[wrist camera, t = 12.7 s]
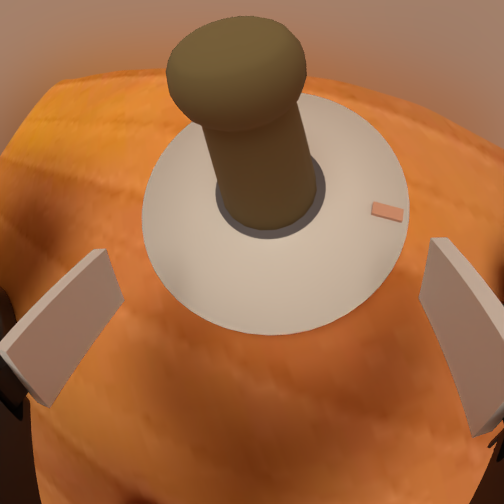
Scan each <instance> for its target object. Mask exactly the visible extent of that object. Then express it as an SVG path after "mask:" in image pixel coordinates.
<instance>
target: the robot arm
mask: <svg viewBox="0 0 504 504" xmlns="http://www.w3.org/2000/svg"><path fill="white" fill-rule="evenodd" d="M419 300H420V302H421V304H422V307H423V309H424V311H425V313H426V315H427V317H428V319H429V321H430V324H431V326H432V328H433V330H434V332H435V335H436V337H437V339H438V342H439V344H440V346H441V349H442V351H443V353H444V356H445V358H446V361H447V363H448V366H449V369H450V371H451V374H452V376H453V379H454V382H455V385H456V387H457V390H458V393H459V396H460V399H461V402H462V405H463V408H464V411H465V414H466V418H467V421H468V424H469V428H470V431H471V435H472V438H474V437H477V436H480V435H482V434H485V433H488V432H491V431H493V429H494V428H495V427H496V426H497V425H498V424H499V423H500V422H501V421H502V420H503V423H504V304H502V303H501V302H500V301H499V299H498V298H497V297H496V295H495V294H494V293H493V291H492V290H491V289H490V287H489V286H488V285H487V284H486V282H485V281H484V280H483V278H482V277H481V276H480V275H479V273H478V272H477V271H476V270H475V269H474V267H473V266H472V265H471V264H470V263H469V261H468V260H467V259H466V258H465V257H464V256H463V255H462V253H461V252H460V251H459V250H458V249H457V248H456V247H455V246H454V244H453V243H452V242H451V241H450V240H449V239H448V238H431V239H430V245H429V251H428V256H427V262H426V267H425V272H424V277H423V281H422V286H421V290H420V294H419ZM124 301H125V300H124V298H123V295H122V292H121V290H120V287H119V285H118V282H117V279H116V276H115V274H114V271H113V268H112V265H111V262H110V259H109V256H108V253H107V250H106V249H93V250H92V251H91V252H90V253H89V254H88V255H87V256H85V257H84V258H83V259H82V260H81V261H80V262H79V263H78V264H76V265H75V266H74V267H73V268H72V269H71V270H70V271H69V272H68V273H67V274H65V275H64V276H63V277H62V278H61V279H60V280H59V281H58V282H57V283H56V284H55V285H54V286H53V287H52V288H51V289H50V290H49V291H48V292H47V293H46V294H45V295H44V296H43V297H42V298H41V299H40V300H39V301H38V302H37V303H36V304H35V305H34V306H33V307H32V308H31V309H30V310H29V311H28V312H27V313H26V314H25V315H24V316H23V317H22V318H21V319H20V320H19V321H18V322H17V324H16V321H15V316H14V312H13V309H12V305H11V303H10V300H9V298H8V296H7V294H6V293H5V291H4V290H3V289H2V288H1V287H0V504H41V500H40V495H39V490H38V484H37V478H36V472H35V465H34V457H33V447H32V435H31V417H30V401H29V399H28V398H27V397H26V395H27V393H28V392H29V393H30V394H31V395H32V397H33V398H34V399H35V400H36V401H37V402H38V403H40V404H42V405H44V406H46V407H48V408H50V407H51V406H52V404H53V402H54V401H55V399H56V398H57V396H58V395H59V393H60V391H61V390H62V388H63V387H64V385H65V384H66V382H67V381H68V379H69V378H70V376H71V375H72V373H73V372H74V370H75V369H76V367H77V366H78V364H79V363H80V361H81V360H82V358H83V357H84V355H85V354H86V353H87V351H88V350H89V348H90V347H91V345H92V344H93V343H94V341H95V340H96V338H97V337H98V336H99V334H100V333H101V331H102V330H103V329H104V327H105V326H106V325H107V323H108V322H109V321H110V319H111V318H112V317H113V315H114V314H115V312H116V311H117V310H118V308H119V307H120V306H121V305H122V303H123V302H124ZM496 442H497V444H496V446H495V448H494V449H493V450H494V452H493V454H492V457H491V459H490V461H489V464H488V466H487V469H486V471H485V473H484V475H483V477H482V480H481V482H480V484H479V486H478V488H477V490H476V492H475V494H474V496H473V498H472V499H471V501H470V503H469V504H504V429H503V430H502V431H501V432H500V433H499V434H498V435H497V436H496V437H495V438H494V439H493V440H492V441H491V442H490V443H489V445H488V448H491V447H492V446H493V445H494V444H495V443H496Z"/></svg>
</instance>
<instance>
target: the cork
mask: <svg viewBox="0 0 504 504" xmlns="http://www.w3.org/2000/svg"><path fill="white" fill-rule="evenodd" d="M166 76H167V83H168V88H169V93H170V96H171V97H172V99H173V101H174V102H175V104H176V105H177V106H178V108H179V109H180V110H181V111H182V112H183V113H184V114H185V115H186V116H187V117H188V118H189V119H190V120H191V121H193V122H194V123H196V124H199V125H201V126H202V130H203V133H204V137H205V140H206V144H207V147H208V151H209V154H210V158H211V161H212V165H213V168H214V171H215V175H216V178H217V182H218V185H219V189H220V192H221V195H222V199H223V202H224V206H225V208H226V209H227V211H228V212H229V214H230V215H231V216H232V218H233V219H235V220H236V221H238V222H239V223H241V224H242V225H244V226H246V227H249V228H253V229H257V230H277V229H280V228H283V227H286V226H289V225H292V224H293V223H295V222H296V221H297V220H299V219H300V218H302V217H303V216H304V215H305V214H306V213H307V211H308V210H309V208H310V207H311V206H312V204H313V202H314V198H315V195H316V192H317V186H316V176H315V171H314V167H313V163H312V159H311V154H310V150H309V146H308V142H307V138H306V134H305V130H304V126H303V123H302V119H301V115H300V112H299V108H298V104H297V101H298V100H299V97H300V94H301V92H302V89H303V87H304V83H305V80H306V76H307V72H306V60H305V55H304V51H303V48H302V46H301V44H300V42H299V40H298V39H297V38H296V37H295V36H294V35H293V34H292V33H291V32H290V31H289V30H288V29H287V28H286V27H285V26H284V25H283V24H281V23H279V22H276V21H274V20H271V19H266V18H260V17H254V16H238V17H231V18H226V19H221V20H218V21H215V22H212V23H209V24H207V25H204V26H202V27H201V28H198V29H196V30H195V31H193V32H192V33H190V34H189V35H188V36H186V37H185V38H184V39H183V40H182V41H181V42H180V43H179V44H178V45H177V46H176V47H175V48H174V49H173V50H172V53H171V56H170V57H169V60H168V64H167V69H166Z"/></svg>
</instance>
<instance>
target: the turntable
mask: <svg viewBox="0 0 504 504" xmlns="http://www.w3.org/2000/svg"><path fill="white" fill-rule="evenodd" d="M297 104H298V108H299V112H300V115H301V119H302V123H303V126H304V130H305V134H306V138H307V142H308V146H309V150H310V154H311V159H312V163H313V167H314V171H315V176H316V186H317V192H316V195H315V198H314V202H313V204H312V206H311V207H310V208H309V210H308V211H307V213H306V214H305V215H304V216H303V217H302V218H300V219H299V220H297V221H296V222H295V223H293V224H292V225H289V226H286V227H283V228H280V229H277V230H257V229H253V228H249V227H246V226H244V225H242V224H241V223H239V222H238V221H236V220H235V219H233V218H232V216H231V215H230V214H229V212H228V211H227V209H226V208H225V206H224V202H223V199H222V195H221V192H220V189H219V185H218V182H217V178H216V175H215V171H214V168H213V165H212V161H211V158H210V154H209V151H208V147H207V144H206V140H205V137H204V133H203V130H202V126H201V125H199V124H196V123H194V122H191V123H190V124H189V125H187V126H186V127H185V128H184V129H183V130H182V131H181V132H180V133H179V134H178V135H177V136H176V137H175V138H174V139H173V140H172V141H171V143H170V144H169V145H168V146H167V148H166V149H165V150H164V152H163V153H162V155H161V156H160V158H159V160H158V161H157V163H156V165H155V167H154V169H153V171H152V173H151V176H150V178H149V181H148V184H147V187H146V191H145V195H144V200H143V208H142V230H143V237H144V243H145V247H146V250H147V253H148V257H149V259H150V261H151V263H152V266H153V268H154V270H155V272H156V274H157V275H158V277H159V278H160V280H161V281H162V283H163V284H164V286H165V287H166V288H167V289H168V290H169V291H170V293H171V294H172V295H173V296H174V297H175V298H176V299H177V300H178V301H179V302H180V303H182V304H183V305H184V306H185V307H187V308H188V309H189V310H190V311H192V312H193V313H195V314H197V315H198V316H200V317H202V318H204V319H205V320H207V321H209V322H212V323H214V324H217V325H219V326H222V327H224V328H227V329H231V330H235V331H239V332H243V333H249V334H260V335H289V334H295V333H300V332H305V331H310V330H313V329H316V328H318V327H321V326H324V325H327V324H329V323H331V322H333V321H335V320H337V319H338V318H340V317H342V316H344V315H346V314H348V313H349V312H351V311H352V310H353V309H355V308H356V307H357V306H359V305H360V304H362V303H363V302H364V301H366V300H367V299H368V298H369V297H370V296H371V295H372V294H373V293H374V292H375V291H376V290H377V289H378V288H379V287H380V286H381V284H382V283H383V281H384V280H385V279H386V277H387V276H388V275H389V273H390V272H391V271H392V269H393V267H394V265H395V263H396V261H397V259H398V257H399V255H400V253H401V250H402V247H403V244H404V241H405V238H406V234H407V229H408V223H409V196H408V189H407V184H406V180H405V177H404V173H403V170H402V168H401V166H400V164H399V161H398V159H397V157H396V155H395V154H394V152H393V150H392V149H391V147H390V146H389V144H388V143H387V142H386V140H385V139H384V138H383V137H382V135H381V134H380V133H379V132H378V131H377V130H376V129H375V128H374V127H373V126H372V125H371V124H370V123H368V122H367V121H366V120H365V119H363V118H362V117H361V116H359V115H358V114H356V113H355V112H353V111H351V110H350V109H348V108H346V107H344V106H342V105H340V104H338V103H335V102H333V101H331V100H328V99H325V98H321V97H318V96H315V95H310V94H304V93H301V94H300V97H299V100H298V101H297Z"/></svg>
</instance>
